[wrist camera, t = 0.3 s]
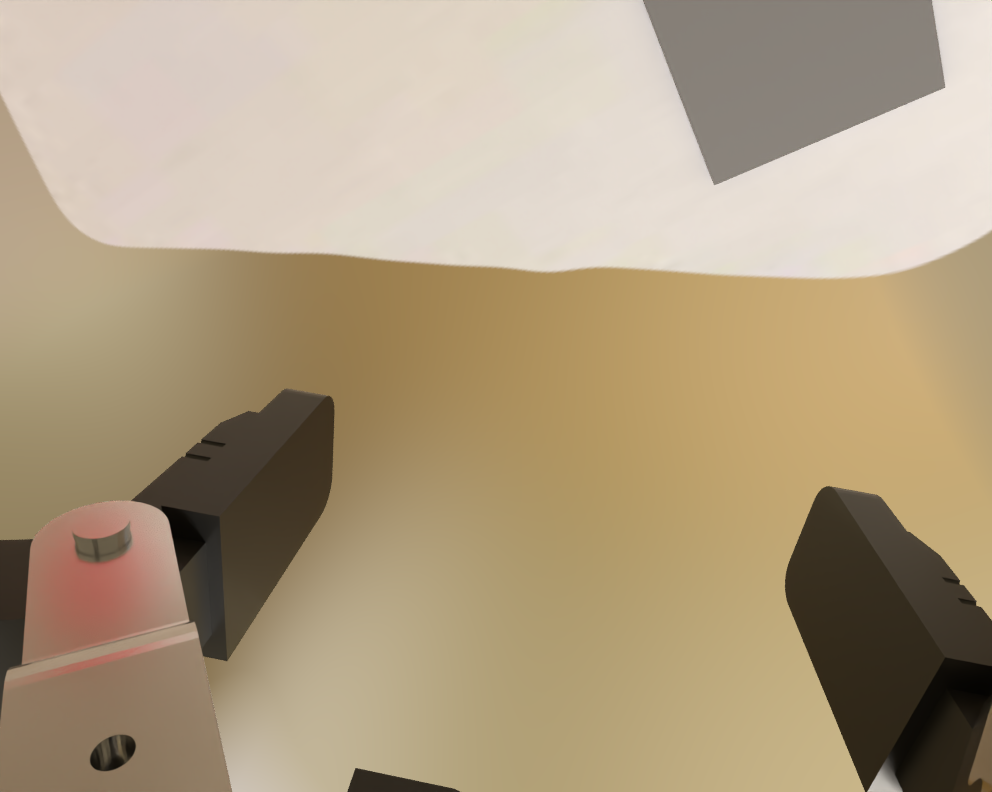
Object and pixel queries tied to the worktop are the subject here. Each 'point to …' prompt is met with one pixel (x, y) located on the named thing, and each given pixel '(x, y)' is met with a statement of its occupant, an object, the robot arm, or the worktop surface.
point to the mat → (791, 70)
